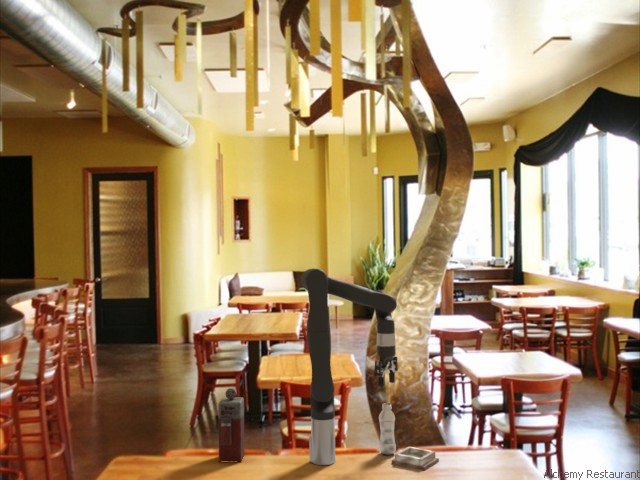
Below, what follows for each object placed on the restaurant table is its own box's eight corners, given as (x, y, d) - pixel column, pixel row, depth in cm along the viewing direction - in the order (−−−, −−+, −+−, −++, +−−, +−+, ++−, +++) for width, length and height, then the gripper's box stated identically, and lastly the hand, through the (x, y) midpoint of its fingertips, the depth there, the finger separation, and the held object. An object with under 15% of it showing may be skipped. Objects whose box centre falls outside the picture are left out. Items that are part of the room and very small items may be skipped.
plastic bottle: (395, 456, 251) (394, 406, 251) (378, 456, 252) (377, 405, 253) (396, 451, 257) (395, 402, 258) (380, 451, 259) (379, 401, 259)
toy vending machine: (217, 464, 245) (216, 391, 246) (222, 455, 257) (221, 385, 257) (240, 464, 245) (239, 391, 246) (244, 454, 256) (243, 385, 257)
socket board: (391, 463, 243) (391, 453, 244) (406, 455, 253) (406, 445, 253) (424, 470, 235) (424, 460, 235) (438, 461, 245) (438, 451, 245)
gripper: (387, 341, 263) (387, 380, 263) (368, 345, 252) (369, 386, 252) (402, 342, 259) (403, 382, 259) (385, 347, 248) (385, 388, 247)
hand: (386, 384), depth 255 cm, fingers open, 8 cm apart
